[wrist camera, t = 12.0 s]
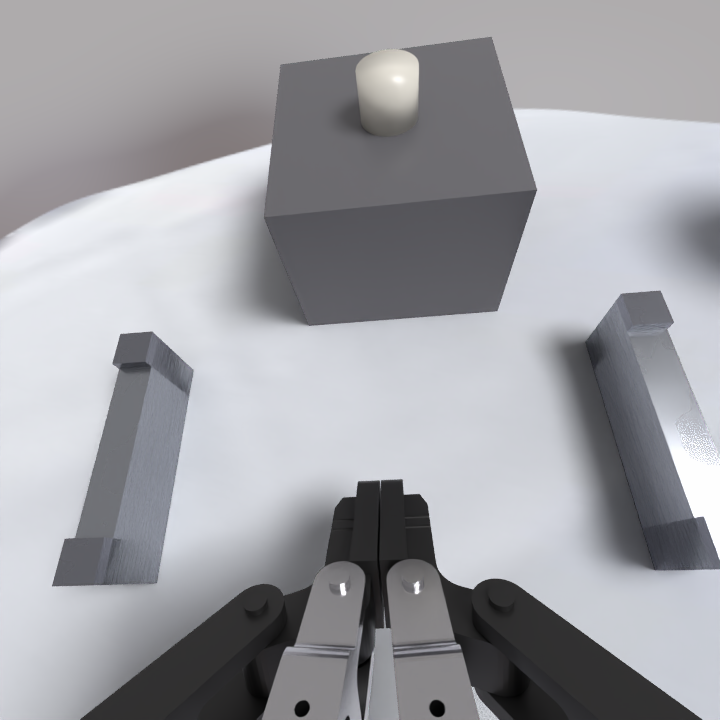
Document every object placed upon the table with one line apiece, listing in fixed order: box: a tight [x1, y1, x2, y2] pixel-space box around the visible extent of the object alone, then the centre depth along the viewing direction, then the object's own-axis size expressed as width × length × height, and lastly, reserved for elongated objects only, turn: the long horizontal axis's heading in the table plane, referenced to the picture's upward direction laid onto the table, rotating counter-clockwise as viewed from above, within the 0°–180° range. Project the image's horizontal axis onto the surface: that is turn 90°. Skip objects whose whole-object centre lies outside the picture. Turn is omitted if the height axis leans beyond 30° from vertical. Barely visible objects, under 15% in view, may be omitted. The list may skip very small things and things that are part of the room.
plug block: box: [264, 37, 537, 326], centre depth 20 cm, size 10×10×10 cm
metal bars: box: [52, 291, 720, 586], centre depth 18 cm, size 23×10×4 cm, turn 91°
